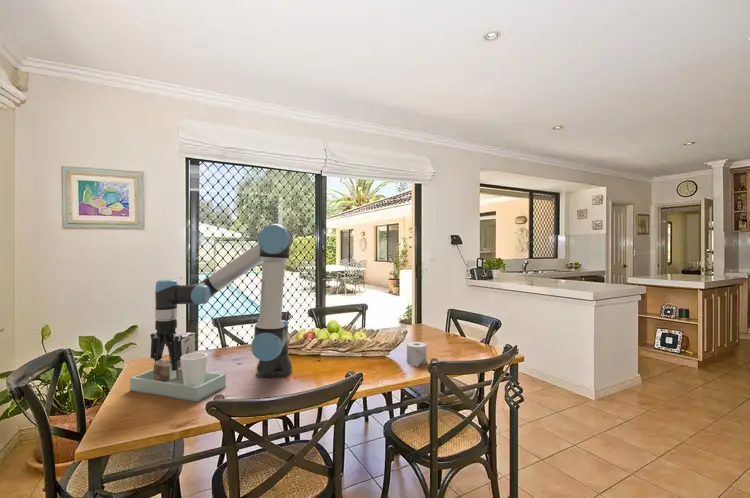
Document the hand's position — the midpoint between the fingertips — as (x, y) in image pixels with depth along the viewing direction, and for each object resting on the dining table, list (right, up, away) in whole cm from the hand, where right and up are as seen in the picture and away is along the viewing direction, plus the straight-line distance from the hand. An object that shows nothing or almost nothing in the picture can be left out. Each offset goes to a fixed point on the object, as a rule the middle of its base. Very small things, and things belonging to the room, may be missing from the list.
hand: (166, 377), depth 148 cm
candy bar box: (-2, -4, +17) cm, 17 cm away
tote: (+6, -4, -2) cm, 7 cm away
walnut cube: (0, 0, 0) cm, 0 cm away
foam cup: (+13, -3, -4) cm, 14 cm away
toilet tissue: (+103, -4, +31) cm, 107 cm away
